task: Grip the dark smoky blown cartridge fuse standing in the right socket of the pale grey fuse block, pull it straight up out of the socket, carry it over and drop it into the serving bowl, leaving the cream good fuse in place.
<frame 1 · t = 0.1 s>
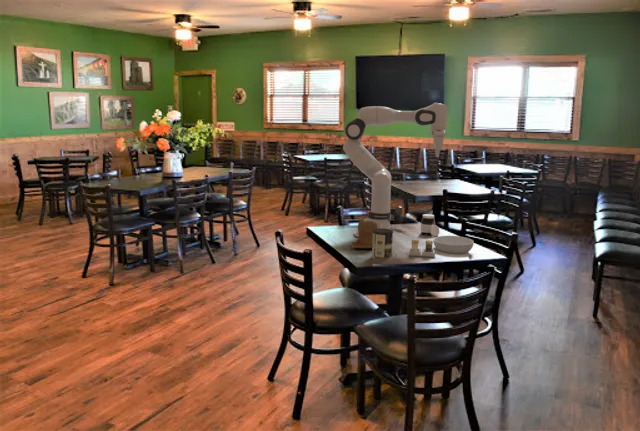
hand: (436, 156, 321), 48 cm above the table, fingers open, 8 cm apart
coffee can: (381, 257, 287), on the table
wooden napkin holder: (364, 248, 306), on the table
fuse block: (421, 258, 287), on the table
good fuse: (414, 254, 287), point 1 cm above the table, touching fuse block
serving bowl: (452, 253, 299), on the table
spread jar: (429, 235, 339), on the table
blown fuse: (428, 255, 286), point 1 cm above the table, touching fuse block
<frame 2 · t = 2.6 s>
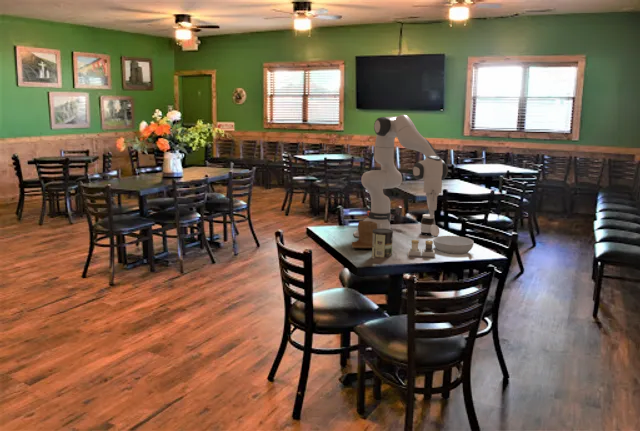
hand: (431, 216, 282), 22 cm above the table, fingers open, 8 cm apart
nothing on the table moved.
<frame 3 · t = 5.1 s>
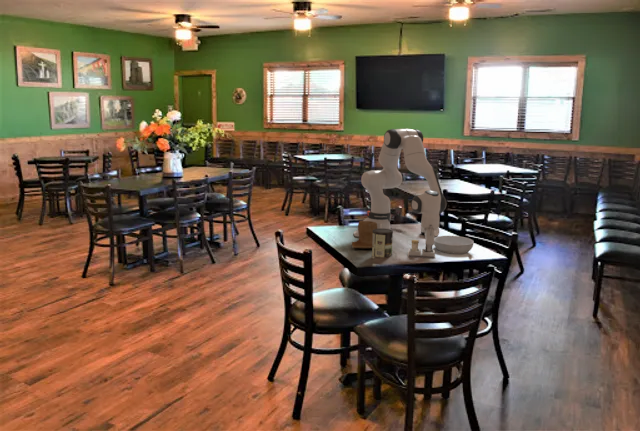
hand: (428, 249, 286), 5 cm above the table, fingers closed on blown fuse, 3 cm apart
blown fuse: (428, 255, 286), point 2 cm above the table, touching fuse block, gripper
everything else where it was.
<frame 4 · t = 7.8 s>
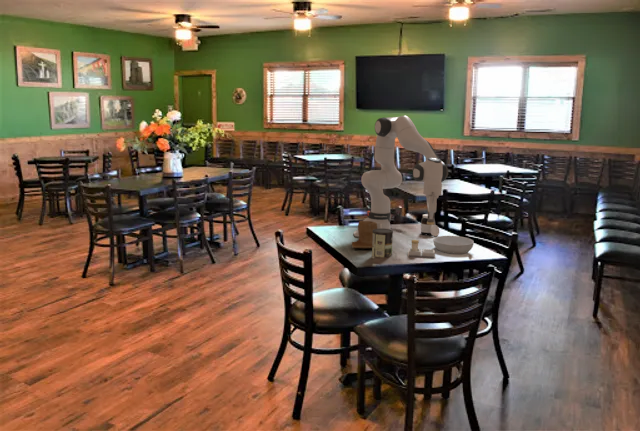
hand: (430, 218, 282), 21 cm above the table, fingers closed on blown fuse, 3 cm apart
blown fuse: (430, 224, 283), point 18 cm above the table, touching gripper
everything else where it was.
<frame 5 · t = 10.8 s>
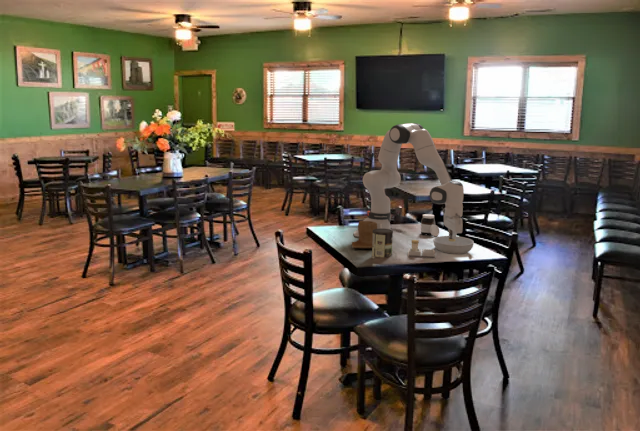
hand: (452, 237, 297), 8 cm above the table, fingers closed on blown fuse, 3 cm apart
serving bowl: (452, 253, 299), on the table, touching blown fuse
blown fuse: (452, 240, 297), point 7 cm above the table, touching gripper, serving bowl
everything else where it was.
when the fingers open (8 cm above the table, at t = 11.3 s): blown fuse stays where it is, resting on serving bowl.
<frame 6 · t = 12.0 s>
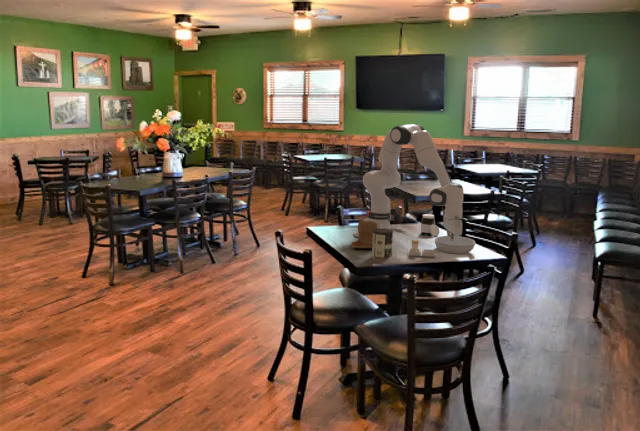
hand: (451, 239, 297), 7 cm above the table, fingers open, 8 cm apart
blown fuse: (453, 240, 297), point 7 cm above the table, touching serving bowl
everything else where it was.
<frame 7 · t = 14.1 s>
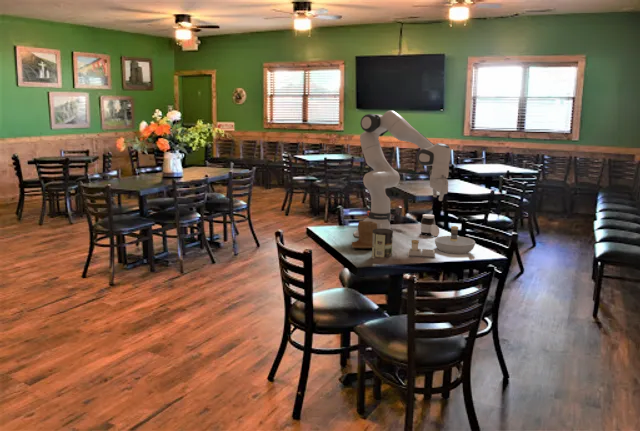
hand: (437, 198, 307), 26 cm above the table, fingers open, 8 cm apart
nothing on the table moved.
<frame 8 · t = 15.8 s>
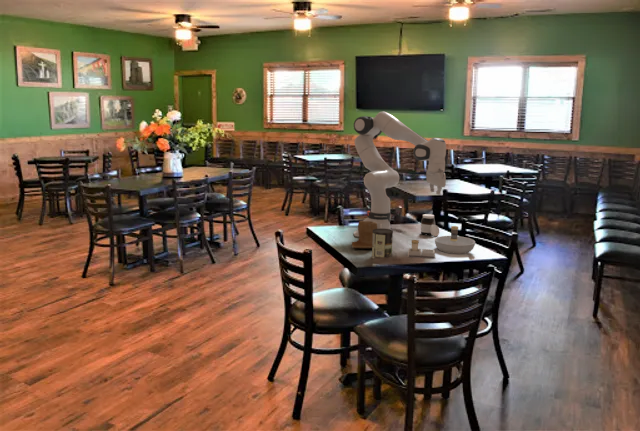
hand: (435, 193, 310), 29 cm above the table, fingers open, 8 cm apart
nothing on the table moved.
at the end: blown fuse 1.3 cm from the serving bowl (horizontally); blown fuse point 6.8 cm above the table; good fuse moved 0.1 cm from its start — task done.
